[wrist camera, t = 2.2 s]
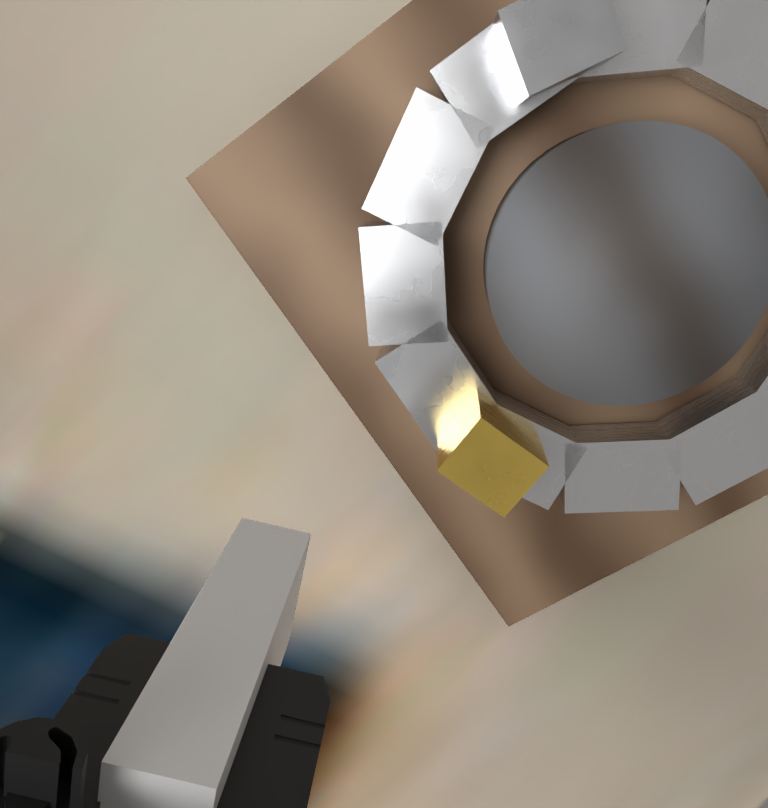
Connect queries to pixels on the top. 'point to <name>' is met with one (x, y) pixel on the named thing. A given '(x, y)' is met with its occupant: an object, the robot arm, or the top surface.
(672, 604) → the top surface
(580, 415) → the walnut base
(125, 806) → the robot arm
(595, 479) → the grey block ring
